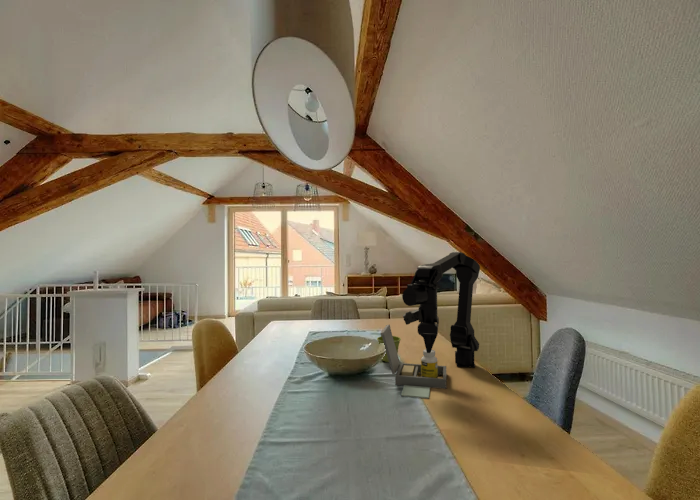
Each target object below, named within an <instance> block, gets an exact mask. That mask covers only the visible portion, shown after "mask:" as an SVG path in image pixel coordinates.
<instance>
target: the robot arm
mask: <svg viewBox="0 0 700 500" xmlns="http://www.w3.org/2000/svg"><path fill="white" fill-rule="evenodd" d="M451 269H453V270H455V276H456V278H457V281H458V282H459V287H458V290H459V291H458V299H457V312H456V321H455V323H453V324H452V325H450V332H449V340H450V343H451V348H455V349H456V350H455V351H454V363H455V364H456V367H461V368H472V369H473V368H474V369H475V368H476V365H475V364H476V363H475V352H478V350H479V348H480V342H479V341H478V340H477V338H476V337H475V329H474V327H473V325H472V323H471V320H472V319H471V318H472V308H473V306H472V305H473V304H472V303H473V294H474V290H473V289H474V284H475V283H476V281H477V280H478V278H479V274H480V270H481V266H480V264H479V263H478V261H477V260H475V259H474V258H472V257H470V256H469V255H466V254H465V253H464V252H459V251H458V252H457V251H456V252H455V251H452V252H450V253H449V254H448V255H446V256H444V257H443V258H440V259H438V260H437V261H435V262H433V263H424V264H422V265H419V266H417V268H416V271H415V273H414V275H413V277H412V279H411V282H410V284H407V286H406V289H405V288H404V290H403V292H402V295H401V297H402V301H403V303H404V304H405V305H406V306H408V307H412V306H417V305H418V309H414V310H412V311H411V310H409V311H405V313H403V315H402V317H403V321H404V323H405V325H406V326H407V325H410V324H411V323H415V322H417V321H418V323H419V324H418V325H417V333H418V335H419V336H420V337H422V338H423V341H424V347H425V349H426V351H427V353H430V352H431V350H433V347H434V344H435V342H436V339H437V337H438V333H439V323H440V321H439V320H440V318H439V316H438V290H439V289H441V286H440V284H438V282H439V281H440V280H442V278H443V274H444V273H446V272H448V271H450V270H451Z"/></svg>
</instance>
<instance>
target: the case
mask: <svg viewBox="0 0 700 500" xmlns="http://www.w3.org/2000/svg"><path fill="white" fill-rule="evenodd" d="M399 365H400V366H399V368H398V371H396V373H395V376H394V377H395V380H394V381H395V382H394V383H395V385H397V386H404V385H408V386H420V387H430V389H431V388H434V389H447V365H438V376H440V375H442V378H440V377H438V378H430V377H421V376H419V374H421V363H407V362H406V363H405V362H400V363H399Z"/></svg>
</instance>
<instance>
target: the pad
mask: <svg viewBox="0 0 700 500" xmlns="http://www.w3.org/2000/svg"><path fill="white" fill-rule="evenodd" d="M430 392H431V387H420V386H408V385H403V389H402V391H401V397H406V396H407V398H408V397H409V398H417V397H419V398H418V399H429V398H430Z"/></svg>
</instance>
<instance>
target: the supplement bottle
mask: <svg viewBox="0 0 700 500" xmlns="http://www.w3.org/2000/svg"><path fill="white" fill-rule="evenodd" d="M422 355H423V356H422V357H421V358H420V364H421V373H420V377H430V378H439V377H438V376H439V374H438V366H439V365H438V358H437V357H436V350H435V349H432V350H431V352H430V353H427V351H426V348H425V349H423V350H422Z"/></svg>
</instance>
